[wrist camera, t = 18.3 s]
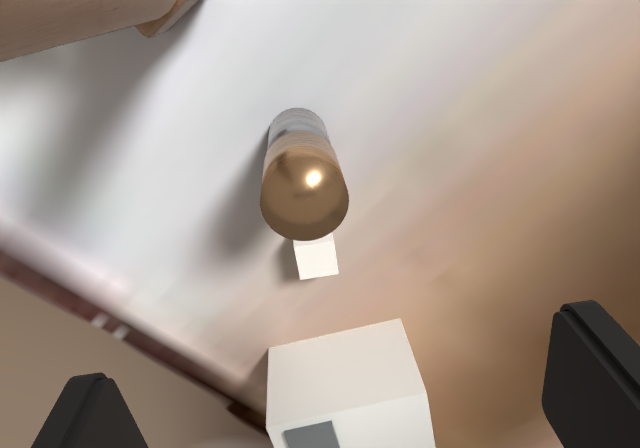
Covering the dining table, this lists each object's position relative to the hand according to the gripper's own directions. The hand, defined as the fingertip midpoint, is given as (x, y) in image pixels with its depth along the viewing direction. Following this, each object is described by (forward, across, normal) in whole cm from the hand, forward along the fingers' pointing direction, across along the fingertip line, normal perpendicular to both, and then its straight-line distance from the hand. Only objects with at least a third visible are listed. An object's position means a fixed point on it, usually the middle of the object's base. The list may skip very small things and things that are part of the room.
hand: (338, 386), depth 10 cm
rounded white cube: (+19, +1, +7) cm, 20 cm away
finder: (+19, 0, +18) cm, 26 cm away
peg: (+19, +1, 0) cm, 19 cm away
